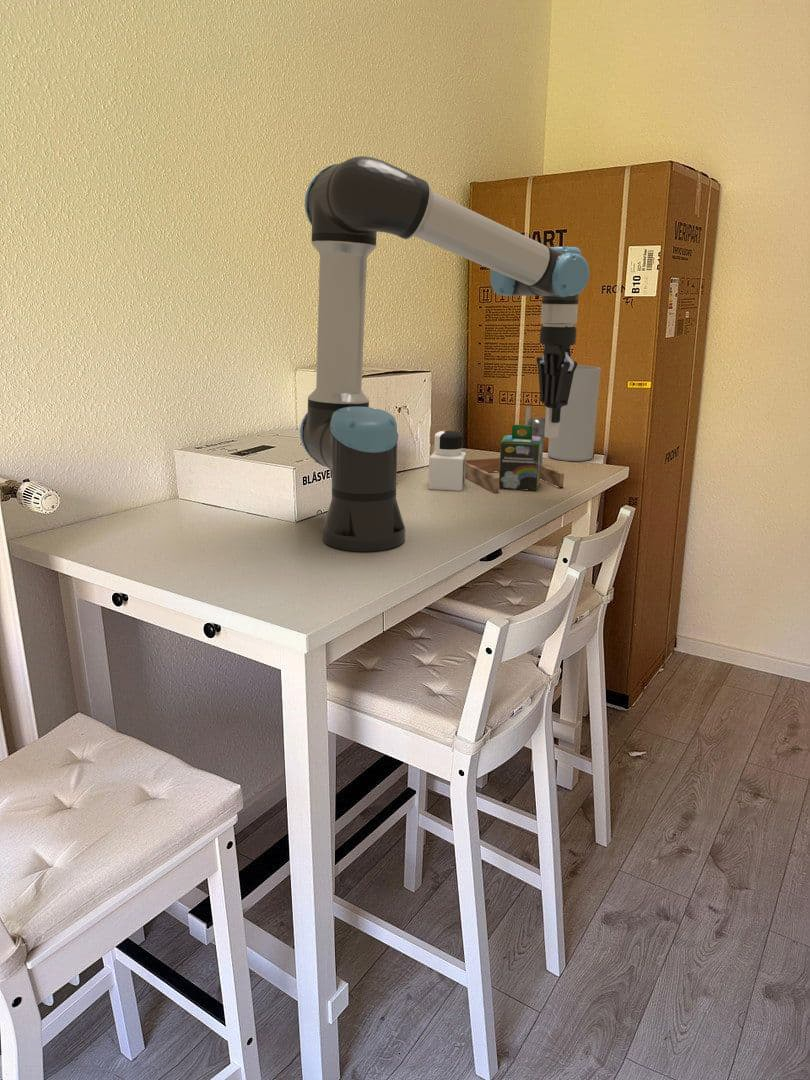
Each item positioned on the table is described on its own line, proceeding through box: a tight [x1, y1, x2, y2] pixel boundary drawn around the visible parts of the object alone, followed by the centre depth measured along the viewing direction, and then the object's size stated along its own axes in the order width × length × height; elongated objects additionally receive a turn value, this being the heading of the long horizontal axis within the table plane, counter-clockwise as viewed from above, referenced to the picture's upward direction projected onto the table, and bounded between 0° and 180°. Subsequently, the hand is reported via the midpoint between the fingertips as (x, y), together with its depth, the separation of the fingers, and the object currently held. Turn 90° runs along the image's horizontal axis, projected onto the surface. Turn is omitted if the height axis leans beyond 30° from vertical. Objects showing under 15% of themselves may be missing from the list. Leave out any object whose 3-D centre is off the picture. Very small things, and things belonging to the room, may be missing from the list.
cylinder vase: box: [547, 364, 602, 462], centre depth 216 cm, size 12×12×25 cm
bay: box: [465, 457, 565, 493], centre depth 190 cm, size 21×18×4 cm
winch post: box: [524, 406, 545, 465], centre depth 204 cm, size 5×5×16 cm
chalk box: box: [498, 424, 542, 491], centre depth 184 cm, size 9×9×15 cm
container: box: [428, 430, 467, 492], centre depth 182 cm, size 8×8×13 cm
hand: (551, 436), depth 171 cm, fingers closed
